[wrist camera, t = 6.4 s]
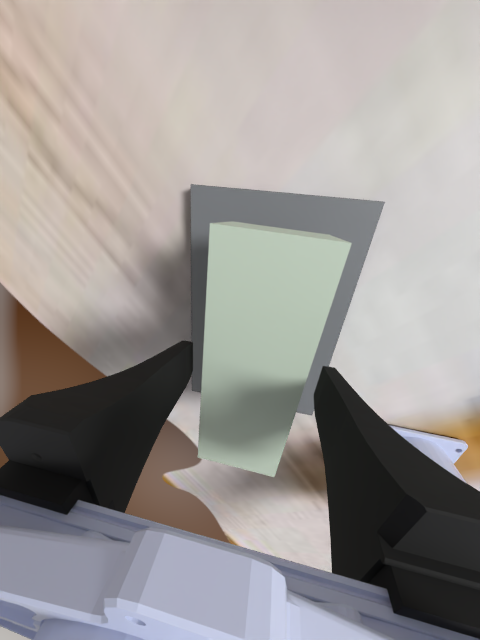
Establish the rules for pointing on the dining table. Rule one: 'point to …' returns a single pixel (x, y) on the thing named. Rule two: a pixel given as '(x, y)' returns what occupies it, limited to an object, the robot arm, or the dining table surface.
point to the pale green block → (261, 336)
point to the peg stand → (289, 213)
